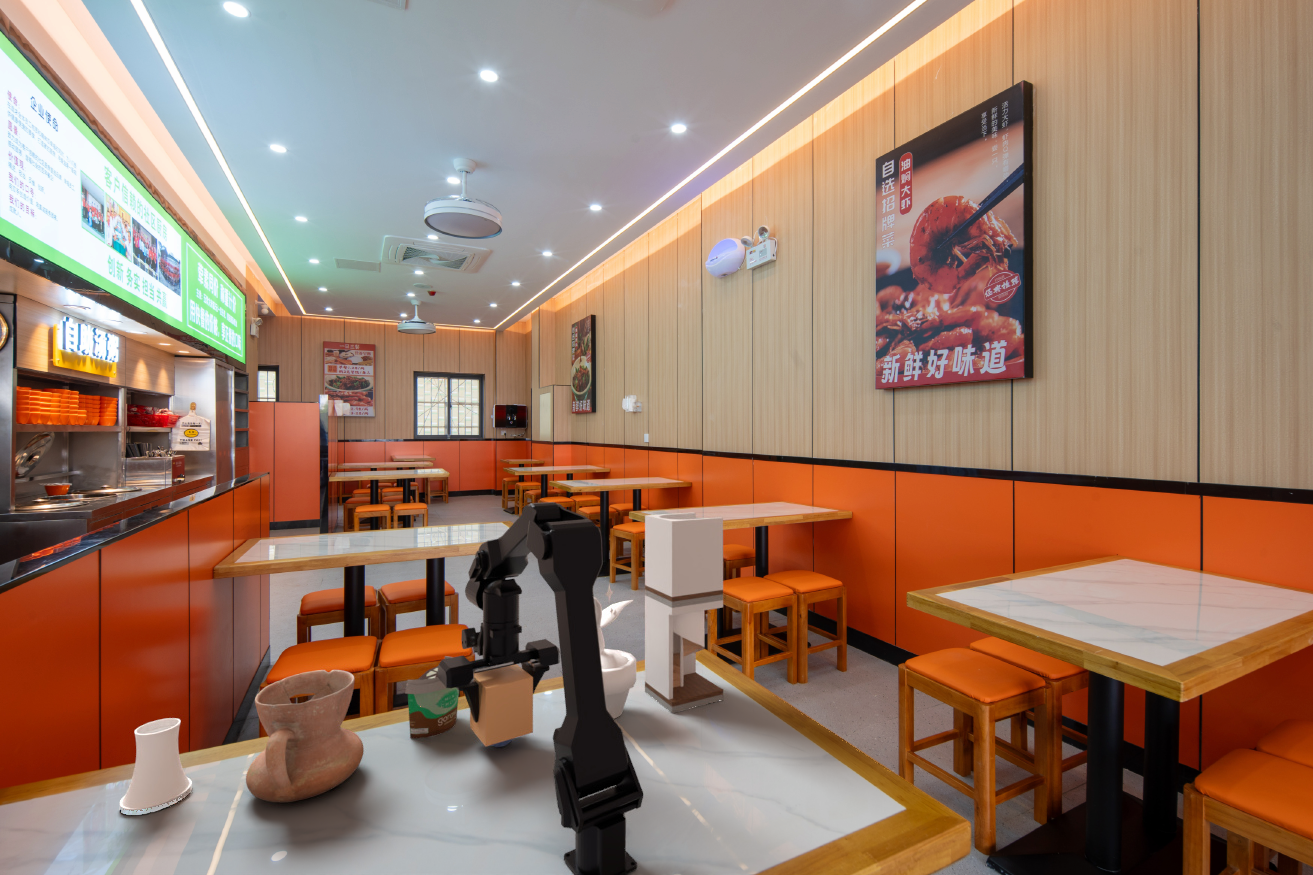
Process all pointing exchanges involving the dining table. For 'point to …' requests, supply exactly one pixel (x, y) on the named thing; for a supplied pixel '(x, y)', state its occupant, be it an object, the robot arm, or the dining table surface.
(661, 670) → the white coffee grinder
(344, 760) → the ceramic jug
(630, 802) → the robot arm
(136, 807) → the vase
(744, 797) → the dining table surface
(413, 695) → the food container
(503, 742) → the ball
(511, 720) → the tan wooden brick
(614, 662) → the potted plant
